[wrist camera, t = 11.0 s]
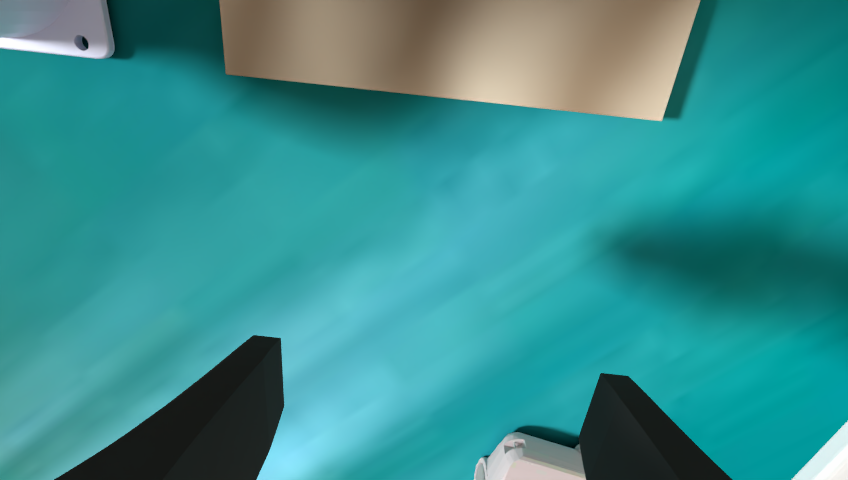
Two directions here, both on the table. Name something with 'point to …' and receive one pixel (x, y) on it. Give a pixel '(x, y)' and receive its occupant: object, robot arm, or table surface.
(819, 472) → the external hard drive
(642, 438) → the robot arm
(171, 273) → the table surface
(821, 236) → the table surface
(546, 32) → the socket board
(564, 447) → the mobile phone
